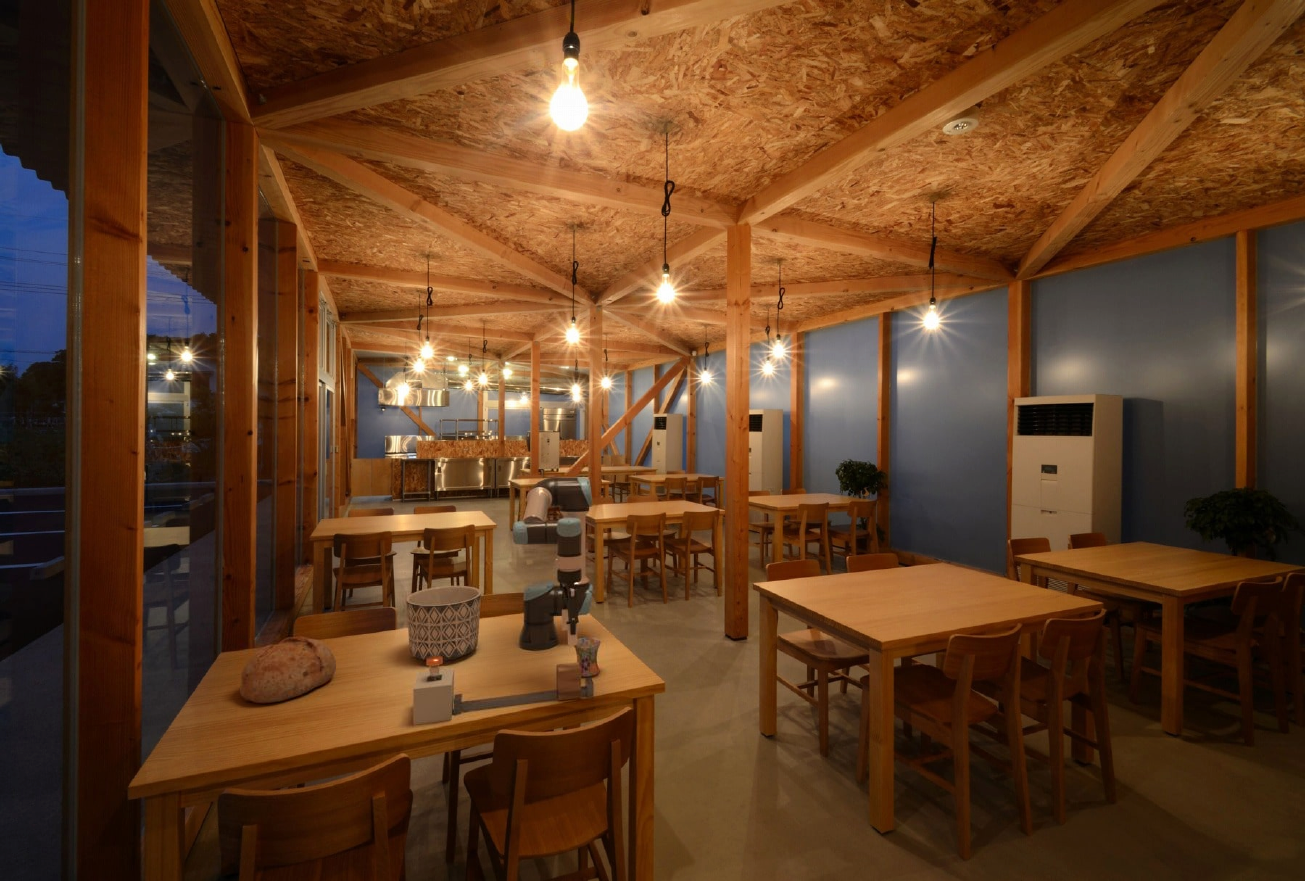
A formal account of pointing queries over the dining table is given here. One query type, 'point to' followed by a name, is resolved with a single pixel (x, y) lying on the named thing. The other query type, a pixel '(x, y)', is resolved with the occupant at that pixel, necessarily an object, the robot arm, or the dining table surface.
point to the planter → (443, 621)
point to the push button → (434, 666)
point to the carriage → (568, 681)
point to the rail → (515, 699)
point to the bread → (286, 670)
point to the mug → (587, 655)
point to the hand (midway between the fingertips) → (569, 637)
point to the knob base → (433, 697)
